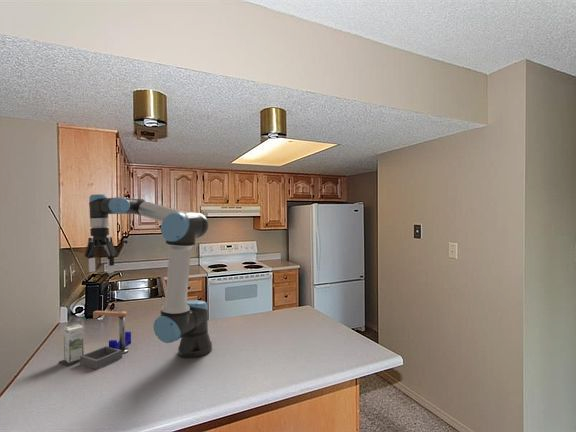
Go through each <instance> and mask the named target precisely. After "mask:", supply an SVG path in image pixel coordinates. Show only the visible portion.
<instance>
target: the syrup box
mask: <svg viewBox="0 0 576 432" xmlns="http://www.w3.org/2000/svg"><path fill="white" fill-rule="evenodd" d="M63 349H64V350H63V352H64V353H63V355H64V356H63V360H65V361H67V362H68V363H71V362H74V361H77V360H80V356H82V355H84V353H85V352H84V349H85V348H84V326H82V324H74V325H70V326H67V327H64V328H63Z"/></svg>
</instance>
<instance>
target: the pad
mask: <svg viewBox="0 0 576 432" xmlns="http://www.w3.org/2000/svg"><path fill="white" fill-rule="evenodd" d="M78 363H79V364H80V360H77V361H74V362H71V363H68V362H67V361H65V360H64V359H62V360H59V361H58V364H61V365H64V366H67V367H72V366H73V365H77V364H78Z"/></svg>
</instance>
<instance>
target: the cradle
mask: <svg viewBox="0 0 576 432" xmlns="http://www.w3.org/2000/svg"><path fill="white" fill-rule="evenodd" d="M122 358H123V354H122V350H119V349H115V348H112V347H109V345H108V346H107V345H105V346H102V347H100V348H97V349H95V350H92V351H90V352H87V353H85V354H84V355H82V356H80V362H79V365H82V366H84V367H87V368H91V369H93V370H99V369H101V368H103V367H105V366H107V365H110V364H113V363H114V362H117V361H119V360H121V359H122Z"/></svg>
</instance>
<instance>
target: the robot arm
mask: <svg viewBox="0 0 576 432" xmlns="http://www.w3.org/2000/svg"><path fill="white" fill-rule="evenodd" d="M88 199H89V202H88V206H89V227H90V230H89V231H90V236H91V237H88V242H87V246H86V250H85V254H84V257H85V258H87V260H88V272H89V273H93V272H96V257H95V255H96V253H97V251H98V249H99V248H101V249H102V250H103V253H105V256H107V258H106V266H107V267H106V268H107V269H106V270H107V273H106V274H112V273H115V258H118V253H117V251H116V247H115V245H114V243H113V237H111V236H109V235H110V228H109V225H110V224H109V215H138V216H141V217H144V218H148V219H152V220H155V221H157V222H161V225H160V232H161V233H160V235H162V238H163V239H164V240H165V244H166V246H167V247H168V248H169V251H168V263H167V275H166V287H165V288H166V290H165V291H166V292H165V301H164V302H165V304H163V305H162V306H161V308H160V316H158V317H157V318H156V319H155V320H154V322H153V332H154V334H155V336H156V337H157V339H158V340H159V341H161V342H163V343H165V344H171V343H174V342H177V341H179V340H180V342H179V346H178V348H177V351H178V356H179V357H181V358H187V359H190V358H191V359H192V358H198V357H199V358H200V357H203V356H205V355H208V354H210V352H212V350H213V344H212V340H211V338H210V335H209V328H208V325H209V324H208V321H209V320H208V310H209V309H208V304H207V301H205V300H199V299H198V300H188V293H189V292H188V290H189V278H190V276H189V275H190V265H191V252H192V248H193V247H194V246H195V245H196V239H199V238H202V237H203V236H204V235H205V234H206V233H208V229H209V221H208V218H207V217H206V216H205V215H204V214H202V213H201V212H195V211H190V210H187V211H182V210H179V209H176V208H172V207H168V206H164V205H160V204H158V203H157V204H156V203H153V202H150V201H148V200H147V199H143V198H130V197H129V198H127V197H123V196H116V197H109V196H108V195H107V194H100V193H98V194H90V196H89V197H88Z"/></svg>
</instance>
